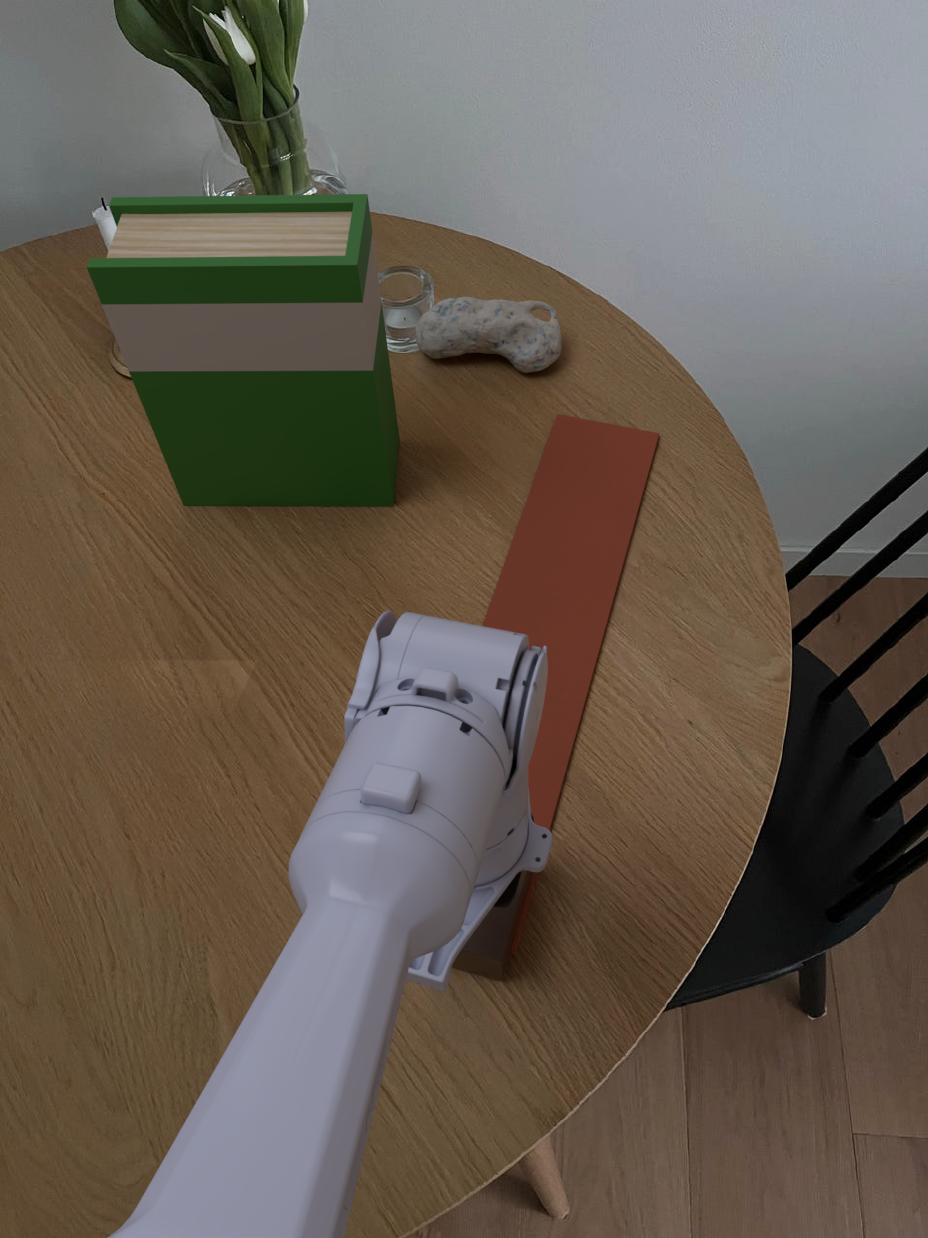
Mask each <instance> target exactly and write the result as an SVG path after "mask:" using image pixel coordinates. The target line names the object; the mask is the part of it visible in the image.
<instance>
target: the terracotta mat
mask: <svg viewBox="0 0 928 1238" xmlns="http://www.w3.org/2000/svg"><path fill="white" fill-rule="evenodd" d="M659 439H660V433H659V432H656V431H655V432H654V431H650V430H644V429H639V428H634V427H629V426H623V425H617V424H613V423H608V422H602V421H597V420H593V419H588V418H587V419H586V418H581V417H576V416H572V415H571V416H570V415H566V414H559V413H557V414H556V415H555V418H554V422H553V424H552V427H551V430H550V433H549V435H548V438H547V441H546V444H545V447H544V449H543V452H542V455H541V458H540V461H539V464H538V467H537V470H536V473H535V475H534V478H533V480H532V484H531V486H530V489H529V493H528V495H527V498H526V501H525V504H524V506H523V509H522V512H521V515H520V517H519V520H518V524H517V525H516V529H515V531H514V535H513V538H512V540H511V543H510V546H509V550H508V551H507V554H506V557H505V560H504V563H503V565H502V568H501V571H500V574H499V578H498V580H497V583H496V586H495V589H494V592H493V594H492V597H491V600H490V602H489V606H488V609H487V611H486V614H485V617H484V619H483V623H482V625H481V626H484V627H490V628H495V629H500V630H505V631H510V632H516V633H521V634H526V635H528V638H529V650H530V647H531V646H536V647H540V648H541V650H542V649H543V647H544V646H546V647H547V663H548V675H547V685H546V692H545V699H544V705H543V710H542V715H541V720H540V725H539V730H538V734H537V738H536V742H535V746H534V750H533V753H532V756H531V759H530V762H529V765H528V788H529V799H530V809H531V813H532V816H533V818H534V823H535V824H536V825H538V826H541V827H544V828H546V829H548V830H550V831H551V827H552V824H553V820H554V817H555V813H556V810H557V806H558V803H559V799H560V796H561V792H562V788H563V785H564V781H565V778H566V773H567V770H568V767H569V764H570V759H571V755H572V752H573V749H574V745H575V741H576V738H577V735H578V730H579V727H580V723H581V719H582V716H583V712H584V709H585V705H586V702H587V698H588V695H589V691H590V687H591V683H592V681H593V678H594V677H593V676H594V673H595V669H596V666H597V662H598V658H599V654H600V652H601V648H602V643H603V640H604V636H605V633H606V630H607V625H608V622H609V619H610V615H611V611H612V607H613V605H614V600H615V597H616V593H617V590H618V586H619V583H620V579H621V575H622V573H623V572H622V571H623V568H624V564H625V561H626V557H627V553H628V549H629V546H630V543H631V540H632V536H633V533H634V529H635V525H636V521H637V517H638V514H639V510H640V507H641V502H642V500H643V497H644V493H645V489H646V485H647V482H648V478H649V474H650V471H651V466H652V463H653V461H654V460H653V459H654V455H655V452H656V449H657V446H658V443H659ZM538 875H539V872H533V875H532V878H531V882H530V885H529V889H528V892H527V896H526V900H525V903H524V907H523V910H522V914H521V917H520V921H519V925H518V928H517V932H516V935H515V939H514V942H513V946H512V950H511V953H510V956H516V954H517V951H518V947H519V943H520V940H521V936H522V932H523V930H524V926H525V923H526V918H527V915H528V911H529V907H530V903H531V901H532V896H533V893H534V889H535V885H536V882H537V878H538Z"/></svg>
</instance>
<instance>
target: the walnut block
mask: <svg viewBox="0 0 928 1238" xmlns="http://www.w3.org/2000/svg"><path fill="white" fill-rule="evenodd" d="M532 875H533V872H531V871H528V870H522V873H521V877H520V880H519V884H518V887H517V891H516V894H515V896H514V898H513V900H512V902H511V903H510V904H509V906H508V907H506V908H498V907H492V908H491V910H490V911H489V912H488V914H487V915H486V916H485V918H484V919H483V920H482V922H481V923H480V925H479V926H478V927H477V929H476V930H475V931H474V933H473V934H472V935H471V937H470V938H469V939H468V941H467V942H466V944H465V945H464V946H463V948H462V949H461V951H460V952H459V954H458V955H457V957H456V959H455V961H454V962H453V964H452V967H453V968H456V969H459V970H463V971H466V972H470V973H472V974H476V975H479V976H483V977H486V978H489V979H493V980H495V981H498V982H499V981H500V982H503V981H504V978H505V974H506V970H507V967H508V963H509V960H510V956H511V954H510V953H511V950H512V946H513V942H514V939H515V935H516V932H517V928H518V925H519V921H520V917H521V914H522V910H523V907H524V903H525V900H526V896H527V892H528V889H529V885H530V882H531V878H532ZM452 967H451V968H452Z"/></svg>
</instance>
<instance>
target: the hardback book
mask: <svg viewBox="0 0 928 1238" xmlns="http://www.w3.org/2000/svg"><path fill="white" fill-rule="evenodd" d="M369 203H370V202H369V195H368V193H343V194H341V193H340V194H339V193H338V194H335V193H334V194H333V193H332V194H270V195H269V194H268V195H267V194H266V195H265V194H263V195H262V194H260V195H258V194H257V195H255V194H254V195H192V196H191V195H189V196H188V195H185V196H184V195H183V196H181V195H180V196H123V197H122V196H112V197H111V199H110V201H109V205H108V207H109V209H110V212H111V215H112V218H113V221H114V224H115V226H116V229H115V232H114V234H113V237H112V241H111V242H110V243H111V244H110V245H109V249H108V252H107V254H106V257H90V258H89V259H88V262H87V265H86V269H87V271H88V274H89V277H90V280H91V282H92V285H93V287H94V289H95V292H96V294H97V297H98V299H99V302H100V304H101V307H102V309H103V311H104V313H105V316H106V319H107V320H108V324H109V326H110V329H111V331H112V334H113V336H114V339H115V341H116V344H117V345H118V348H119V351H120V353H121V356H122V358H123V360H124V363H125V365H126V369H127V370H128V373H129V375H130V378H131V380H132V383H133V385H134V387H135V390H136V393H137V395H138V398H139V400H140V403H141V405H142V407H143V410H144V412H145V415H146V417H147V420H148V422H149V425H150V427H151V429H152V430H151V431H152V432H153V434H154V437H155V439H156V442H157V444H158V447H159V450H160V452H161V454H162V457H163V459H164V461H165V464H166V466H167V470H168V471H169V474H170V476H171V479H172V481H173V483H174V486H175V489H176V491H177V494H178V495H179V499H180V502H181V503H182V506H184V507H186V506H187V507H189V506H190V507H193V506H194V507H195V506H196V507H198V506H200V507H394V505H395V494H396V485H397V484H396V483H397V473H398V463H399V452H400V444H401V443H400V441H401V438H400V431H399V424H398V416H397V409H396V408H397V407H396V401H395V394H394V393H395V391H394V385H393V379H392V370H391V363H390V355H389V348H388V347H389V346H388V339H387V332H386V323H385V316H384V310H383V309H384V308H383V302H382V294H381V285H380V277H379V270H378V263H377V256H376V248H375V247H376V246H375V241H374V232H373V224H372V218H371V211H370V210H371V209H370V204H369Z"/></svg>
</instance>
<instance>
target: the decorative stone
mask: <svg viewBox="0 0 928 1238" xmlns="http://www.w3.org/2000/svg"><path fill="white" fill-rule="evenodd" d="M539 309H541V310H545V311H548V312H549V313H550V320H549V321H547V320H541V319H539V318H537V317H534V316H533V311H535V310H539ZM414 330H415V331H414V337H415V342H416V346H417V348H418V349H419V350H420V351H421V352H422V353H423V354H424V355H426V356H427V357H429V358H431V359H435V360H438V359H439V360H440V359H446V358H449V357H450V358H451V357H458V356H461V355H465V354H471V353H472V354H473V353H474V354H475V353H480V354H490V355H500V356H501V357H504V358H506V359H507V360H508V361H509V362H510V363H511V365H512V366H513V368H515V369H516V370H517V371H519V372H521V373H523V374H527V373H535V372H536V373H537V372H540V371H543V370H545V369H547V368H548V367H549V366H551V365H552V364H553V363H555V362H556V361H557V360H558V359H559V357H560V356H561V353H562V346H563V343H562V341H563V338H562V337H563V336H562V331H561V325H560V320H559V316H558V313H557V311H556V310H555V308H554V307H553V306H551V305H550V304H549V303H546V302H544V301H541V300H539V301H538V300H533V299H531V300H524V301H513V300H505V299H488V300H484V299H480V298H475V297H471V296H461V297H460V296H459V297H456V298H453V297H449V298H445V299H443V300H441V301H438V302H437V303H435V304H434V305H433V306H432V307H431V308H429V309H428V310H427V311H426V312H424V313H423V314H422V315H421V317H420V318H419V319H418V321H417V323H416V325H415V329H414Z"/></svg>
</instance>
